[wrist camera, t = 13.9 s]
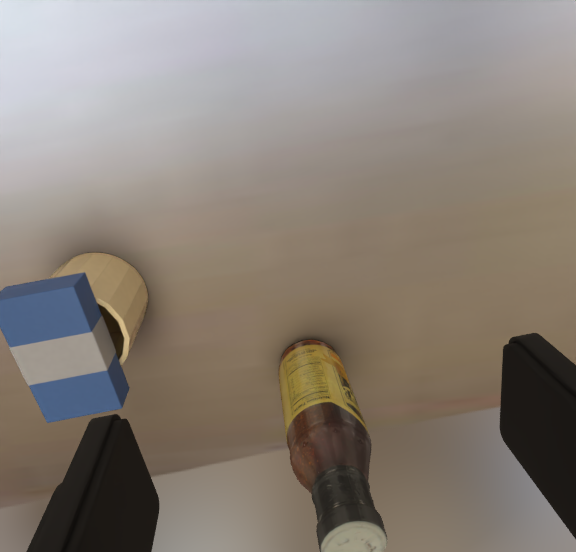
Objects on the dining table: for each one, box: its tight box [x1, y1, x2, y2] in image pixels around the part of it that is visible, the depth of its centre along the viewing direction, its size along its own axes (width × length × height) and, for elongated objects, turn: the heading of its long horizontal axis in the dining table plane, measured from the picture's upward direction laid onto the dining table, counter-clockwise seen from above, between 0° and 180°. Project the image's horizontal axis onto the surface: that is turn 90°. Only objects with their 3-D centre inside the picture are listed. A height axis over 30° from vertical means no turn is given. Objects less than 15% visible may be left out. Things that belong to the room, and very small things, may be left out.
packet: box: [0, 272, 129, 423], centre depth 31 cm, size 10×6×2 cm, turn 9°
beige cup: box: [48, 253, 148, 366], centre depth 36 cm, size 8×8×8 cm
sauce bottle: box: [279, 340, 387, 552], centre depth 35 cm, size 7×6×20 cm
